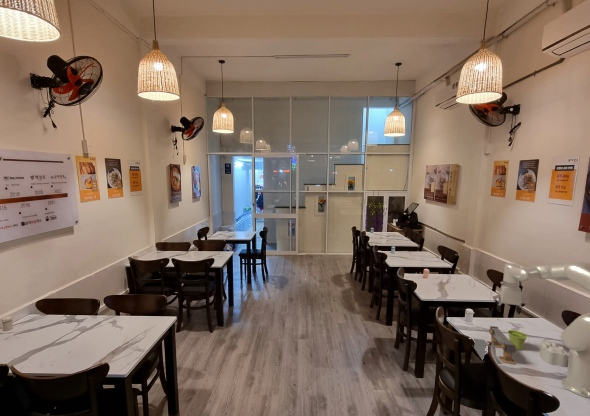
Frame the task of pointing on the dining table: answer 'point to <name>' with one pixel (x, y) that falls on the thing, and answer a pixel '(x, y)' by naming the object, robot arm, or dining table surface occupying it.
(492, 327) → the rail
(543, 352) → the lumpy-topped squat cylinder
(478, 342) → the mat
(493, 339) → the post far
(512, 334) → the plant pot
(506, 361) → the post near
